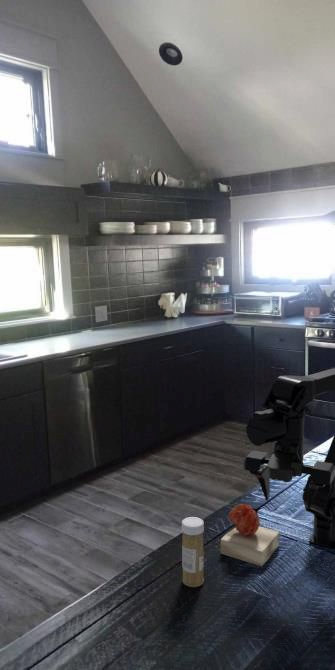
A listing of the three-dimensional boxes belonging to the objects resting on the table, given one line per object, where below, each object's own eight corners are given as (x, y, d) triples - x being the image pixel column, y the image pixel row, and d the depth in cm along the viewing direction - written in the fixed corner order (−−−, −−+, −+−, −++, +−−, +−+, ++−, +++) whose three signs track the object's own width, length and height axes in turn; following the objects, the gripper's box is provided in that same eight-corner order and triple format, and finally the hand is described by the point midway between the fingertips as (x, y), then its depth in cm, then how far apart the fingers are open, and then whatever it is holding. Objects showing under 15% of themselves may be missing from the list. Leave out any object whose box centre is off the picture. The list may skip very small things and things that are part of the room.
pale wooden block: (239, 536, 137) (239, 520, 136) (278, 547, 132) (279, 531, 131) (220, 555, 129) (220, 539, 128) (261, 568, 123) (262, 551, 123)
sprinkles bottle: (208, 583, 117) (208, 522, 115) (190, 590, 115) (190, 529, 113) (195, 572, 121) (195, 513, 119) (177, 579, 118) (177, 519, 116)
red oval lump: (233, 552, 127) (269, 529, 124) (213, 524, 127) (249, 501, 125) (237, 538, 134) (271, 516, 132) (218, 512, 135) (252, 490, 132)
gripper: (235, 440, 118) (234, 510, 121) (326, 455, 110) (323, 530, 112) (252, 425, 128) (251, 490, 131) (337, 437, 120) (334, 506, 122)
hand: (287, 503), depth 124 cm, fingers open, 9 cm apart
